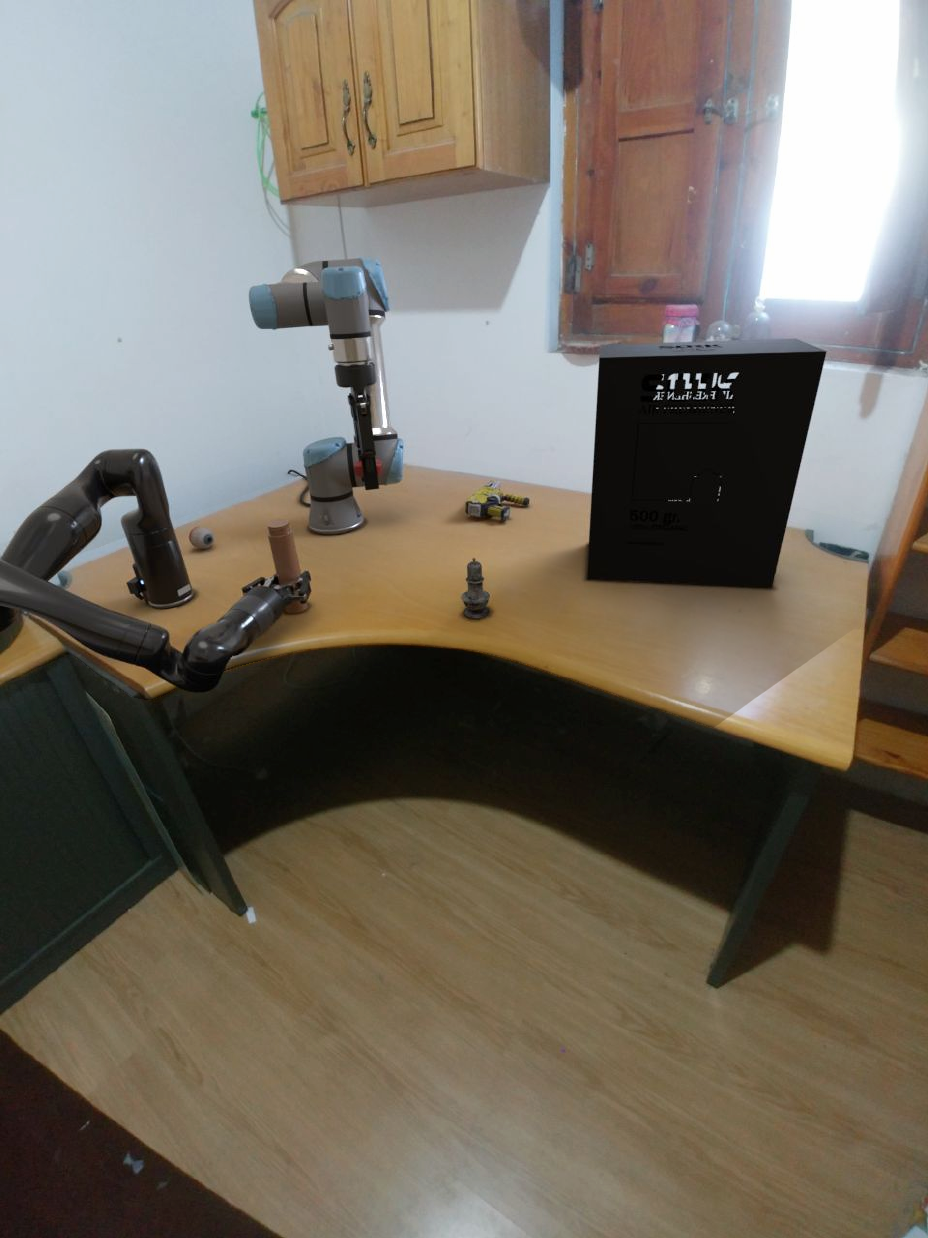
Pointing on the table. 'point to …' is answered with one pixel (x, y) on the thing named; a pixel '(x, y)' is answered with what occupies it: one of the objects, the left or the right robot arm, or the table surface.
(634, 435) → the cardboard box
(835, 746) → the table surface
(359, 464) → the lid
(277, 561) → the jar
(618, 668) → the table surface
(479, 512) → the toy gun
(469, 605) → the dark grey tiered figure
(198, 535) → the eyeball
